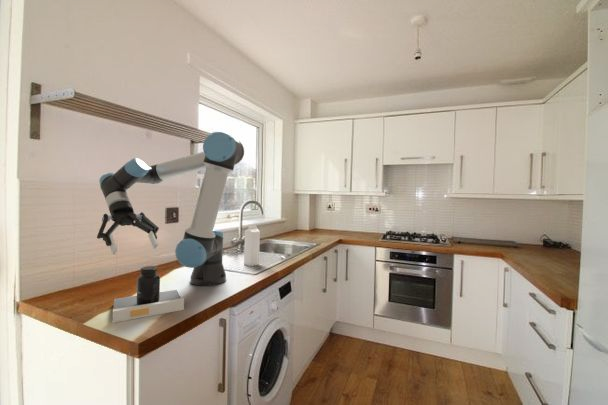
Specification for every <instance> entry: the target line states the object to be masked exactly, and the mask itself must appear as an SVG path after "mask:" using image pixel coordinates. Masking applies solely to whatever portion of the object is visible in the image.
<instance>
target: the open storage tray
mask: <svg viewBox="0 0 608 405" xmlns="http://www.w3.org/2000/svg"><path fill="white" fill-rule="evenodd" d="M179 293H180V292H179V291H178V290H177V289H172V290H165V291H160V298H159V302H156V303H150V304H144V305H138V304H137V295H131V296H125V297H118V298H114V300H113V309H112V324H114V323H119V322H123V321H124V322H125V321H131V320H136V319H141V318H147V317H151V316H157V315H162V314H168V313H169V314H170V313H174V312H179V311H184V310H185V298H183V297H181V296H180V294H179Z"/></svg>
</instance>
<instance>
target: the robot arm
mask: <svg viewBox="0 0 608 405" xmlns="http://www.w3.org/2000/svg"><path fill="white" fill-rule="evenodd" d="M202 149H203V151H201V152H198V153H194V154H193V153H192V154H191V155H187V156H186V155H185V156H182V157H178V158H175V159H171V160H167V161H164V162H161V163H156V164H152V165H147V163H145V162H144V161H143V160H142V159H140V158H137V157H134V158H131V159H130V160H129V161H127V162H126V163H125V164H124V165H123V166H121V167H120V169H118V170H117V171H116V172H108V173H106V174H102V175H101V176H100V178H99V186H100V190H101V191H102V194H103V196H104V198H105V203H106V205H107V208H108V211H109V214H110V215H108V214H107V213H103V215H102V218H101V221H102V223H101V225H100V228H99V231H98V233H97V236H96V238H97V239H102V241H104V243H105V245H106V247H109V249H110V250H111V253H112V254H111V255H116V253H117V251H118V248H117V244H116V242H115V239H114V236H113V233H114V231H115V230H116V229H117V228H118V227H119V226H121V227H126V226H132V227H136V228H137V229H140V230H142V231H143V232H145V233H147V234H148V238H149V240H150V243H151V246H152V249H153V250H154V249H157V247H158V245H159V243H158V241H157V240H158V235H157V233H158V231H159V230H160V227H159V226H157V225H156V224H155V223H154V222H153V221H152V220H150V219H149V217H147V216H146V215H145V213H144V212H142V211H141V212H140V213H138V214H136V213H135V211H134V208H133V205H132V202H131V200H130V198H129V196H128V193H127V190H128V189H130V188H131V187H132V186H134V185H135V184H136V183H140V184H151V185H156V184H160V183H162V182H163V181H166V180H169V179H173V178H177V177H181V176H185V175H188V174H192V173H196V172H199V171H200V172H201V171H204V170H205V172H204V176H203V179H202V183H201V187H200V191H199V193H198V198H197V201H196V204H195V207H194V208H195V209H194V213H193V216H192V220H191V224H190V226H189V227H188V228H186V229H185V231H184V234H183V238H182V240H180V241H179V242H178V243H177V244H176V247H175V249H174V250H175V251H174V252H175V254H174V255H175V258H176V260H177V261H178V263H179V264H180V265H182V266H184V267H185V268H189V269H192V272H191V275H190V284H192V285H194V286H201V287H203V286H205V287H207V286H215V285H221V284H222V283H225V281H226V280H227V279H226V278H227V274H226V271H225V268H224V264H223V252H224V248H223V247H224V232H223V230H219V229H218V230H217V229H216V230H215V229H214V228H215V224H216V220H217V217H218V213H219V209H220V206H221V202H222V198H223V194H224V191H225V187H226V183H227V179H228V176H229V174H230V173H232V172H233V171H234V168H235V165H237V164H239V163H240V162H241V161H242V160H243V159H244V155H245V147H244V146H243V144H242V142H241V141H240V140H239V139H237V138H236V137H234V136H233V135H232V134H231V133H228V132H225V131H222V130H216V131H213V132H211V133H209V134H208V135H207V136H206V137H205V138H204V140H203V144H202ZM110 220H111V221H112V222H113V223H112V225H111V226H110V227H109V228H108V229H107V231H106V232H105V233H104V231H105V229H106V226H107V223H108V222H110Z"/></svg>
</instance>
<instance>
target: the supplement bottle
mask: <svg viewBox="0 0 608 405" xmlns="http://www.w3.org/2000/svg"><path fill="white" fill-rule="evenodd" d="M139 274H140V276H138V277H137V279H136V296H137V304H138V305H144V304H150V303H156V302H159V298H160V292H161V291H160V290H161V289H160V288H161V285H160V284H161V276H160V275H159V274H158V267H157V266H154V265H146V266H142V267H141V268H140V273H139Z"/></svg>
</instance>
